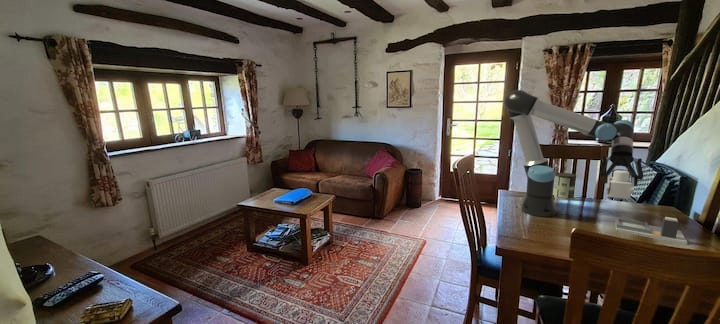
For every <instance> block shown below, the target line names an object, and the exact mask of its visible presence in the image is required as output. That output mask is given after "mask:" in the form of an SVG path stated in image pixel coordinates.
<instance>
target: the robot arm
mask: <svg viewBox="0 0 720 324" xmlns="http://www.w3.org/2000/svg"><path fill="white" fill-rule="evenodd" d="M504 106H505V108H506V111H507V114H508V117H509V119H511V120H513V123H514V126H515V130H516V133H517V136H518V140H519V143H520V146H521V150H522V154H523V157H524V160H525V161H524V163H523V164H522V165H523V168H524V172H525V176H526V181H527V184H526V192H525V193H526V194H525V198H524V200H523V201H522V203H521V206H520V207H521V208H520V210H521V212H523V213H525V214H528V215H531V216H536V217H543V218H545V217H553V216H555V214H556V209H555V205H554V201H553V194H554V184H555V173H556V171H555V169H554V168H553V167H551V166H550V164H549V162H548V159H547V158H545V157H544V155H543V152H542V150H541V146H540V145H541V144H540V143H539V138H538V136H537V132H536V129H535V128H536V127H535V126H534V121H533V118H532V116H533V117H537V118H540V119H543V120H545V121H548V122H551V123H553V124H557V125H560V126H562V127H565V128H568V129H571V130H573V131H576V132H579V133H582V135H583V136H588V137H592V138H595V139H598V140H600V141H610V140H611V151H610V156H609V157H607V156H602V164H601V167H600V171H599V177H603V184H606V191H607V192H608V191H609V185H610V178H611V174H612V171H613V170H615V168H616V167H625V170H628V171H630V177H631V178H630V182H631V183H632V188H631V194H634V191H635V187H637V186H638V182H639V180H640V181H641V180H643V179H644V172H643V168H642V161H643V158H638V159H637V158H634V156H633V153H634V131H635V129H634V124H633V123H632V122H631V121H630V120H628V119H626V120H625V119H622V120H617V121H615V122H614V123H609V122H604V121H601V120H598V119H595V118H593V117H589V116H587V115H584V114H580V113H578V112H575V111H572V110H569V109H566V108H563V107H560V106H557V105H554V104H551V103H548V102H545V101H543V100H540V98H539V97H538V96H537V97H536V96H534V95H532V94H529V93H528V92H526V91H525V90H522V89H516V90H512V91H511V92H509V93H508V94H507V95H506V96H505V100H504ZM609 161H610V162H611V165H610V166H609V167H608V169H607V170H606V172H605V169H606V166H607V163H608V162H609ZM632 163H634V164H635V165H636V170H635V169H634V167H633V166H632Z"/></svg>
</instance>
